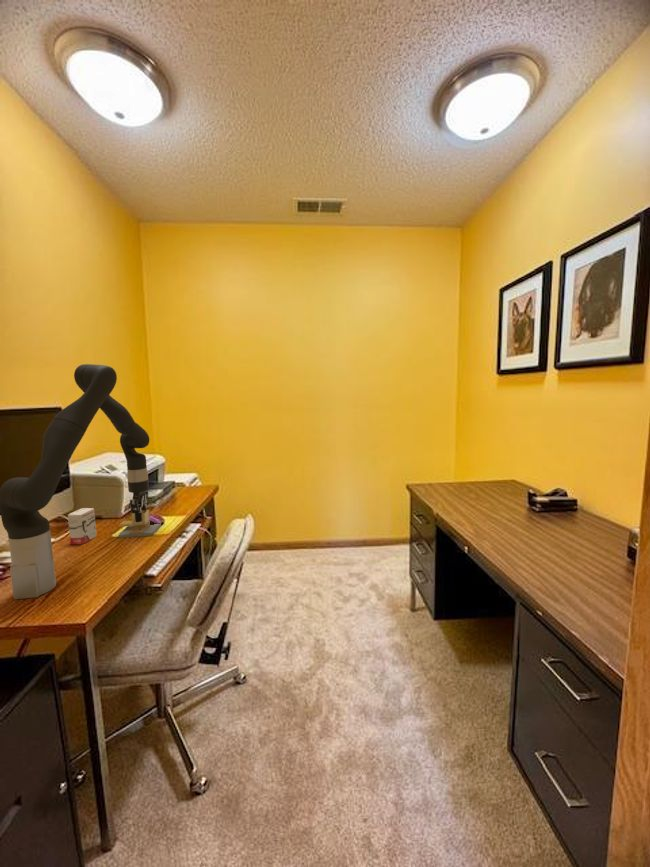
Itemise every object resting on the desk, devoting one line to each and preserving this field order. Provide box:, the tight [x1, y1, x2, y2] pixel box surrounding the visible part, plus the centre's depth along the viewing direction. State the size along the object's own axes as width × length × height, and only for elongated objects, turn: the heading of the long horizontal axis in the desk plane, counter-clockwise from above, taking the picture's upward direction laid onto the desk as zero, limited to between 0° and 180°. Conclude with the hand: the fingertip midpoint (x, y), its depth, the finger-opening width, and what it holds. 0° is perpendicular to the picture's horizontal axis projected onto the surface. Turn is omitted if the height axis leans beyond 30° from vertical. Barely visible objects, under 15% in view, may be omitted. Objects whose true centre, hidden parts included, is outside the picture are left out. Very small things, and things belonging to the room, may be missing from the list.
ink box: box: [67, 507, 98, 546], centre depth 139 cm, size 9×5×12 cm, turn 179°
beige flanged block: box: [118, 509, 150, 527], centre depth 148 cm, size 10×5×5 cm, turn 98°
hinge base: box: [117, 511, 165, 539], centre depth 149 cm, size 14×13×8 cm
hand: (141, 519), depth 149 cm, fingers closed on beige flanged block, 5 cm apart
